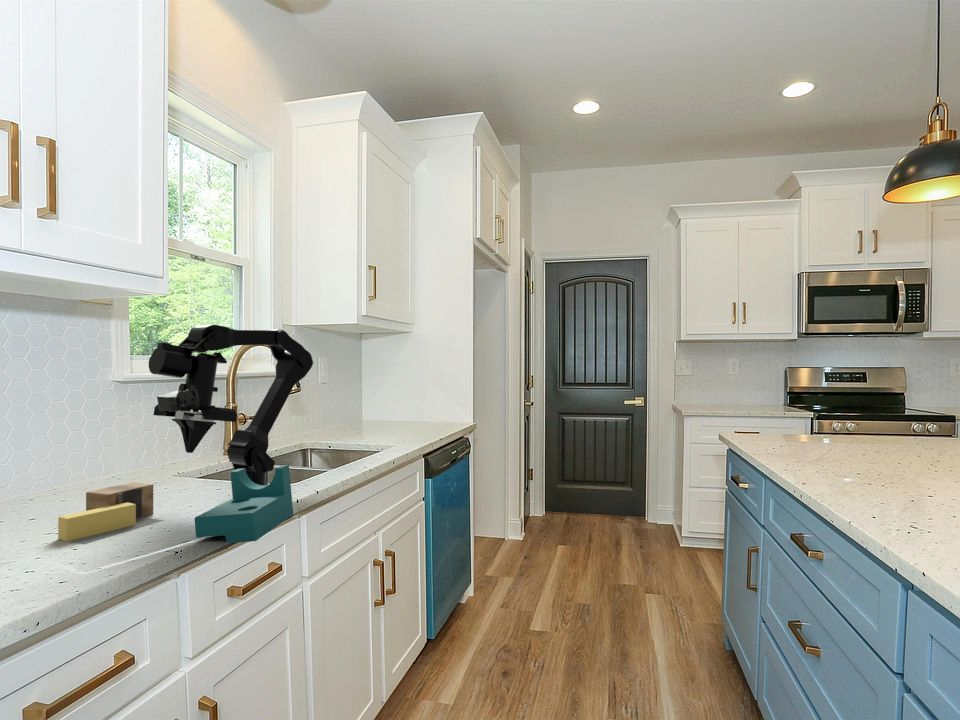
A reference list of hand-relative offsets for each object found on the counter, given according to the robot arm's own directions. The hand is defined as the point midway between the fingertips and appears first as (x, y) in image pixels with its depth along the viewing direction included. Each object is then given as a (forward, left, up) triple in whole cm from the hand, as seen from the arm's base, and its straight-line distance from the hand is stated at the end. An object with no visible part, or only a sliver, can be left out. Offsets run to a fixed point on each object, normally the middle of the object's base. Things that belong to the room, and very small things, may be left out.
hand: (189, 452), depth 123 cm
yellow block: (+12, -2, -10) cm, 16 cm away
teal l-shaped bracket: (+5, +21, -13) cm, 25 cm away
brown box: (+10, -7, -13) cm, 18 cm away
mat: (+16, -1, -13) cm, 21 cm away
